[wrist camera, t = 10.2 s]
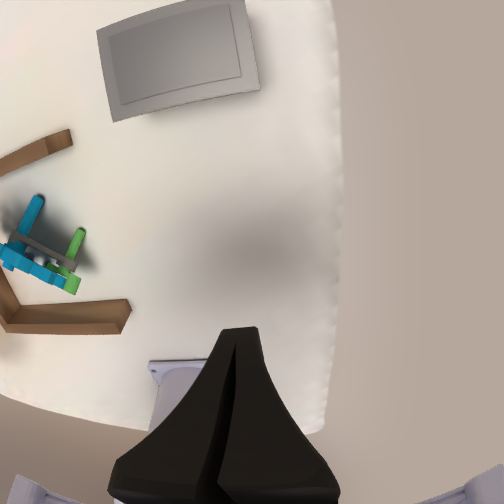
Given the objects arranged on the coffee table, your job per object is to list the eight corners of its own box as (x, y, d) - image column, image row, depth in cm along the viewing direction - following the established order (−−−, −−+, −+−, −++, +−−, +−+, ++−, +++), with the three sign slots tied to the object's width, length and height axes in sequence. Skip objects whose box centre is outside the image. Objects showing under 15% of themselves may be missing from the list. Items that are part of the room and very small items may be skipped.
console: (259, 90, 17) (260, 89, 12) (147, 113, 17) (110, 123, 13) (245, 10, 14) (241, -17, 9) (132, 38, 15) (93, 25, 10)
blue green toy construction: (-17, 249, 20) (-64, 229, 12) (8, 192, 22) (-24, 148, 13) (78, 301, 24) (65, 305, 16) (102, 241, 26) (103, 215, 17)
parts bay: (131, 310, 25) (119, 335, 22) (19, 314, 26) (5, 333, 23) (68, 128, 17) (42, 137, 15) (-39, 183, 19) (-61, 196, 16)
